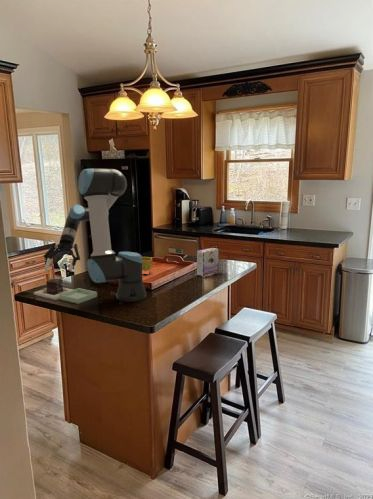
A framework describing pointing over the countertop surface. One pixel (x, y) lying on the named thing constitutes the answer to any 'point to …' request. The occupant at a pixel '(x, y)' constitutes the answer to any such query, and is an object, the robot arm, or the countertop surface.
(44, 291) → the socket block
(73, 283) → the countertop surface
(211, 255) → the candy box
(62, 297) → the tray
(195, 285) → the countertop surface
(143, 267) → the plant pot
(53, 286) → the box
